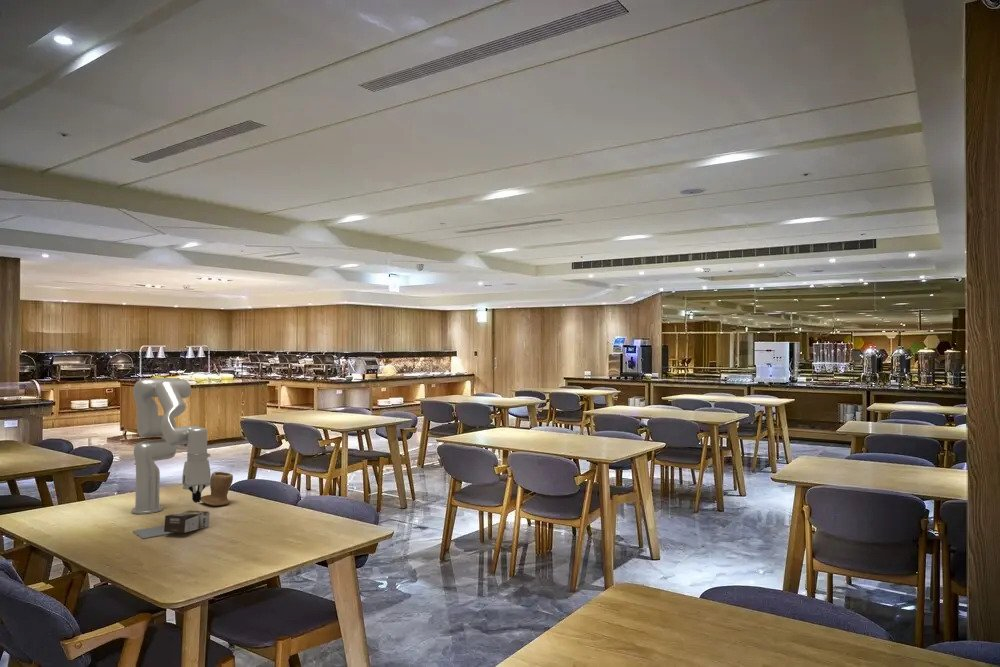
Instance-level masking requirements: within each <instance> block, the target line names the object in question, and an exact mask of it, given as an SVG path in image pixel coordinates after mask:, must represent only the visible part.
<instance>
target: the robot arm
mask: <svg viewBox="0 0 1000 667" xmlns="http://www.w3.org/2000/svg"><path fill="white" fill-rule="evenodd" d="M133 385H134V386H133V389H132V392H133V398H134V402H135V405H136V428H137V430H136V431H137V434H138V436H139V437H140V438H156V437H161V438H160V439H149V440H143V441H140V442H138V443H136V444H135V445H134V447H133V457H134V462H135V500H134V501H135V502H134V503H135V506H134V507H133V508H131V513H132V514H135V515H144V514H145V515H146V514H154V513H157V512H161V511H162V510H164V506H163V505H162V504H161V505H160V487H161V486H160V483H161V480H160V477H161V475H160V473H161V472H160V468H159V467H158V465H157V464H156V463H155V462H158V461H164V460H165V461H166V460H170V459H173V458H174V457H175V455H176V454H177V446H182V445H186V446H187V448H186V449H187V450H186V453H187V455H186V460H185V462H184V464H183V470H182V476H181V477H182V478H181V479H182V480H181V482H182V489H183V490H187V491H188V490H189V491H190V492H191V500H192V501H193V503H196V504H197V503H200V502H201V501H200V500H201V497H202V492H203V491H204V489H206V488H208V487H210V480H211V475H212V473H211V467H210V462H209V457H211V453H208V429H207V428H205V427H200V426H198V425H185V426H177V423H176V421H175V418H177V417H179V416H180V415H181V414H183V413H184V412H185V411H186V408H187V407H186V403H185V401H184V399H187V398H189V397H190V396H191V393H192V387H191V384H190V382H189V381H187V380H186V379H184V378H183V379H181V378H176V377H159V378H158V377H156V378H155V377H154V378H144V379H139V380H137V381H136V382H135V383H134V384H133ZM154 398H157V399H158V401H159V402H160V405H161V407H162V410H163V411H164V412H163V413H164V414H161V415H159V405H158V403H157V402H156V401H155V400H154Z"/></svg>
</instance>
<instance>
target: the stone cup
mask: <svg viewBox="0 0 1000 667" xmlns="http://www.w3.org/2000/svg"><path fill="white" fill-rule="evenodd" d="M233 480H234V474H232V473H229V472H224V471H214V472H213V473H211V480H210V486H209V487H210V494H206V495H201V500H200V502H202V503H204V504H207V505H210V506H215V507H216V506H218V507H219V506H224V505H228V504H230V503H231V501H230V500H229V499H228V493H229V491H230V489H231V486H232V484H233Z"/></svg>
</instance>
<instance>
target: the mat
mask: <svg viewBox="0 0 1000 667" xmlns="http://www.w3.org/2000/svg"><path fill="white" fill-rule="evenodd" d="M164 526H165V524H164V525H159V526H152V527H146V528H142V529H136V530H135V529H134V530H132V531H133V532H134V533H133V532H132V533H133V534H135V533H136V534H137V535H136V534H135V535H136V536H138V537H139V536H140V537H141V540H145V539H146V538H147V539H152V538H156V537H162V536H169V535H174V534H178V532H164ZM140 537H139V538H140ZM147 539H146V540H147Z"/></svg>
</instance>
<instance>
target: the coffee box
mask: <svg viewBox="0 0 1000 667" xmlns="http://www.w3.org/2000/svg"><path fill="white" fill-rule="evenodd" d="M210 513H211V512H210V511H207V510H192V509H191V510H185V511H181V512H176V513H172V514H167V515H165V517H164V525H165V526H164V525H163V526H164V532H178V533H179V534H180V533H183V534H184V533H185V534H186V533H188V532H193V531H196V530H200V529H204V528H208V527H209V524H210ZM178 533H177V534H178Z"/></svg>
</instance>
